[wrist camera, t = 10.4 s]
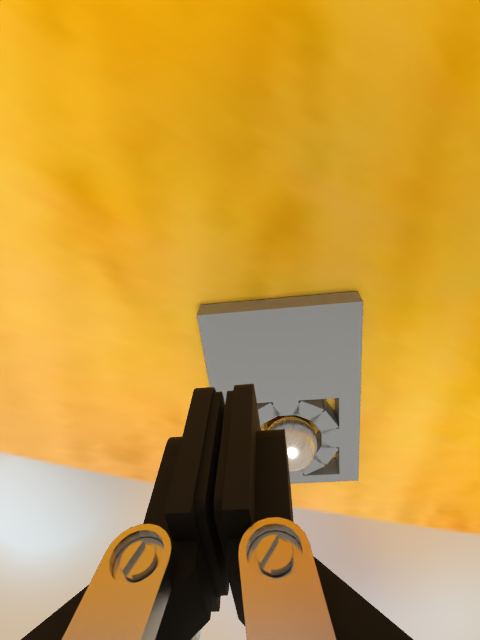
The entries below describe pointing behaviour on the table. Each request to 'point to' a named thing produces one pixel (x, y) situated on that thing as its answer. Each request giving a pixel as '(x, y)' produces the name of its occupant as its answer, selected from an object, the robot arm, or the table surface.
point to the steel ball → (297, 441)
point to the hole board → (295, 368)
